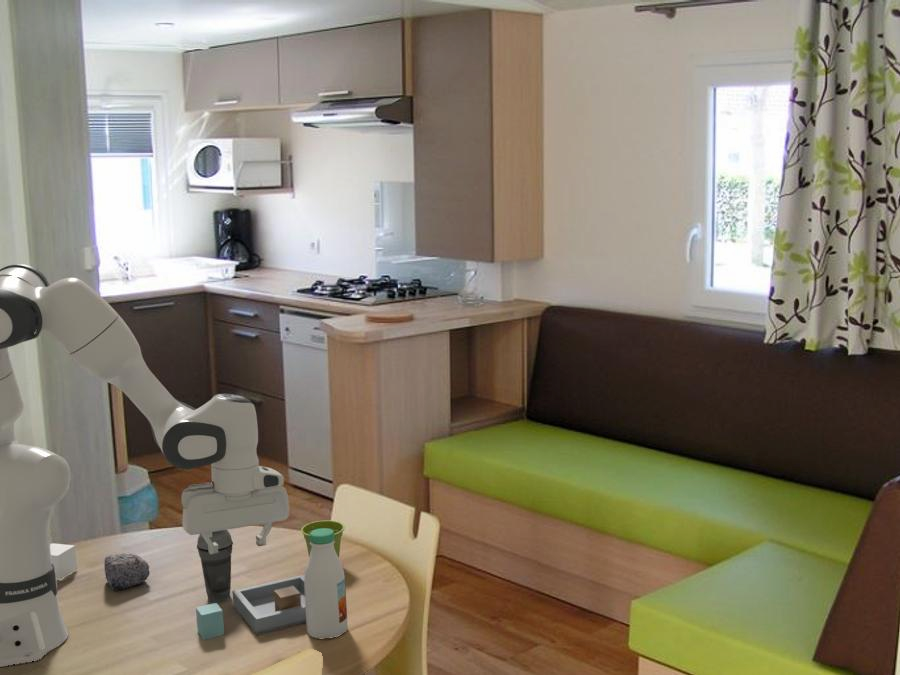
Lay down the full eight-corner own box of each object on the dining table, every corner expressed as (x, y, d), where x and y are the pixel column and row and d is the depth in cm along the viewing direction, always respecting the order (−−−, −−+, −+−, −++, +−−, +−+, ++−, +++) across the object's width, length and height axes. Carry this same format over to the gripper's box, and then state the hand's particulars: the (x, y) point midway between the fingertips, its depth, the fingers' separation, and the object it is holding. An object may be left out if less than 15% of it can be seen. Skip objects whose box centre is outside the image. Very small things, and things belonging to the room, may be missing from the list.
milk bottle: (330, 644, 202) (325, 542, 198) (298, 635, 206) (292, 535, 202) (355, 627, 208) (350, 528, 205) (324, 619, 213) (318, 521, 209)
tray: (257, 634, 207) (256, 619, 206) (233, 605, 220) (232, 590, 219) (331, 616, 214) (331, 600, 213) (304, 588, 227) (303, 574, 226)
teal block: (203, 640, 205) (201, 615, 204) (197, 631, 209) (195, 607, 208) (224, 634, 207) (222, 610, 206) (218, 626, 211) (216, 602, 210)
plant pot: (355, 561, 240) (353, 524, 239) (328, 577, 232) (326, 538, 231) (322, 554, 245) (319, 517, 244) (294, 568, 237) (292, 531, 236)
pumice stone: (149, 584, 237) (103, 575, 236) (156, 551, 236) (110, 542, 235) (139, 603, 227) (91, 593, 226) (147, 569, 226) (99, 559, 225)
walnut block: (282, 621, 210) (280, 597, 209) (275, 614, 214) (273, 590, 213) (301, 617, 212) (300, 593, 211) (294, 609, 216) (293, 585, 215)
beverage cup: (228, 606, 220) (221, 512, 216) (194, 604, 221) (187, 510, 217) (242, 591, 227) (235, 499, 223) (209, 589, 228) (202, 498, 224)
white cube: (60, 582, 235) (57, 555, 234) (37, 579, 236) (34, 553, 235) (77, 571, 240) (75, 545, 239) (54, 568, 242) (52, 543, 241)
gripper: (185, 490, 198) (188, 563, 200) (291, 475, 208) (293, 545, 210) (176, 482, 203) (179, 553, 205) (280, 468, 213) (281, 536, 215)
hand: (237, 549), depth 208 cm, fingers open, 8 cm apart
